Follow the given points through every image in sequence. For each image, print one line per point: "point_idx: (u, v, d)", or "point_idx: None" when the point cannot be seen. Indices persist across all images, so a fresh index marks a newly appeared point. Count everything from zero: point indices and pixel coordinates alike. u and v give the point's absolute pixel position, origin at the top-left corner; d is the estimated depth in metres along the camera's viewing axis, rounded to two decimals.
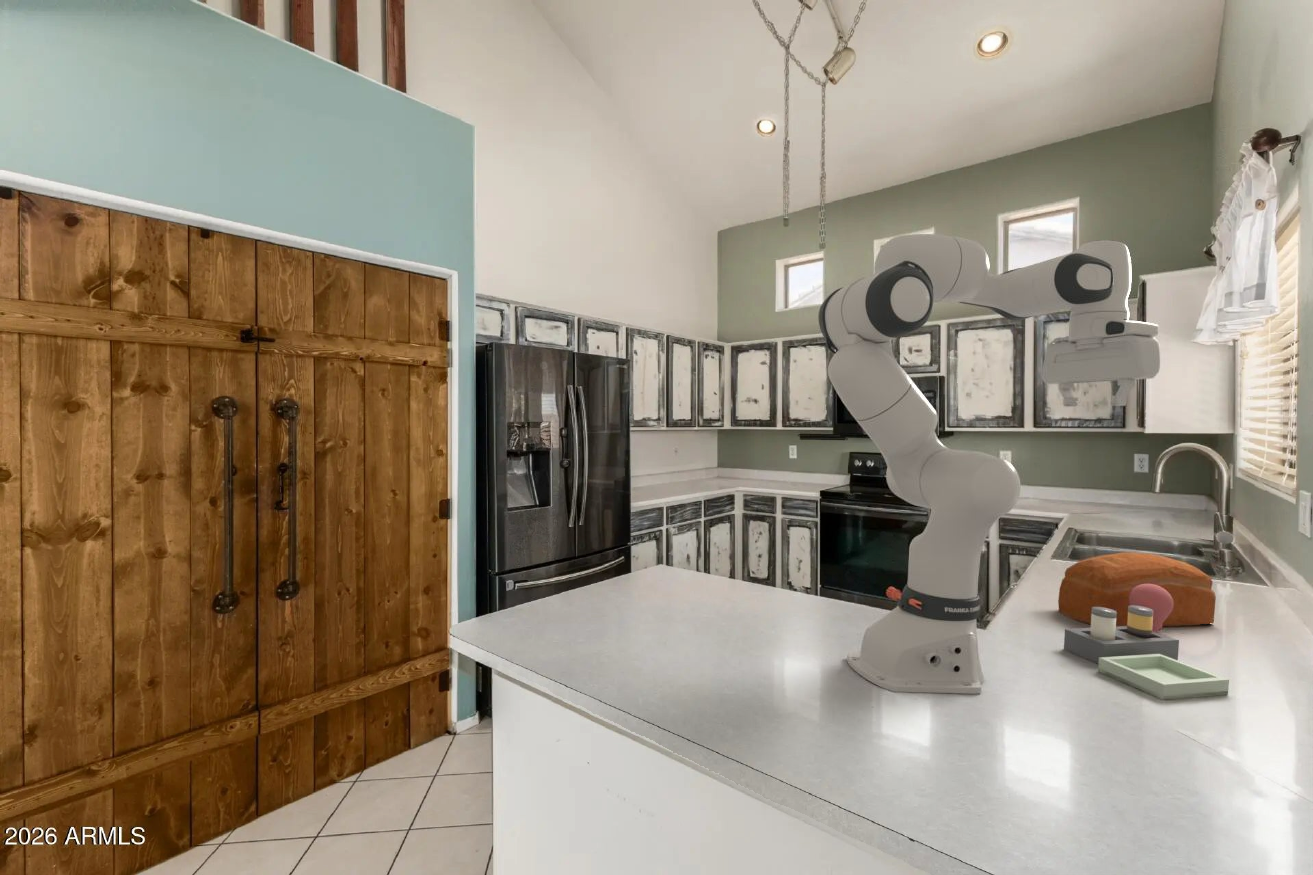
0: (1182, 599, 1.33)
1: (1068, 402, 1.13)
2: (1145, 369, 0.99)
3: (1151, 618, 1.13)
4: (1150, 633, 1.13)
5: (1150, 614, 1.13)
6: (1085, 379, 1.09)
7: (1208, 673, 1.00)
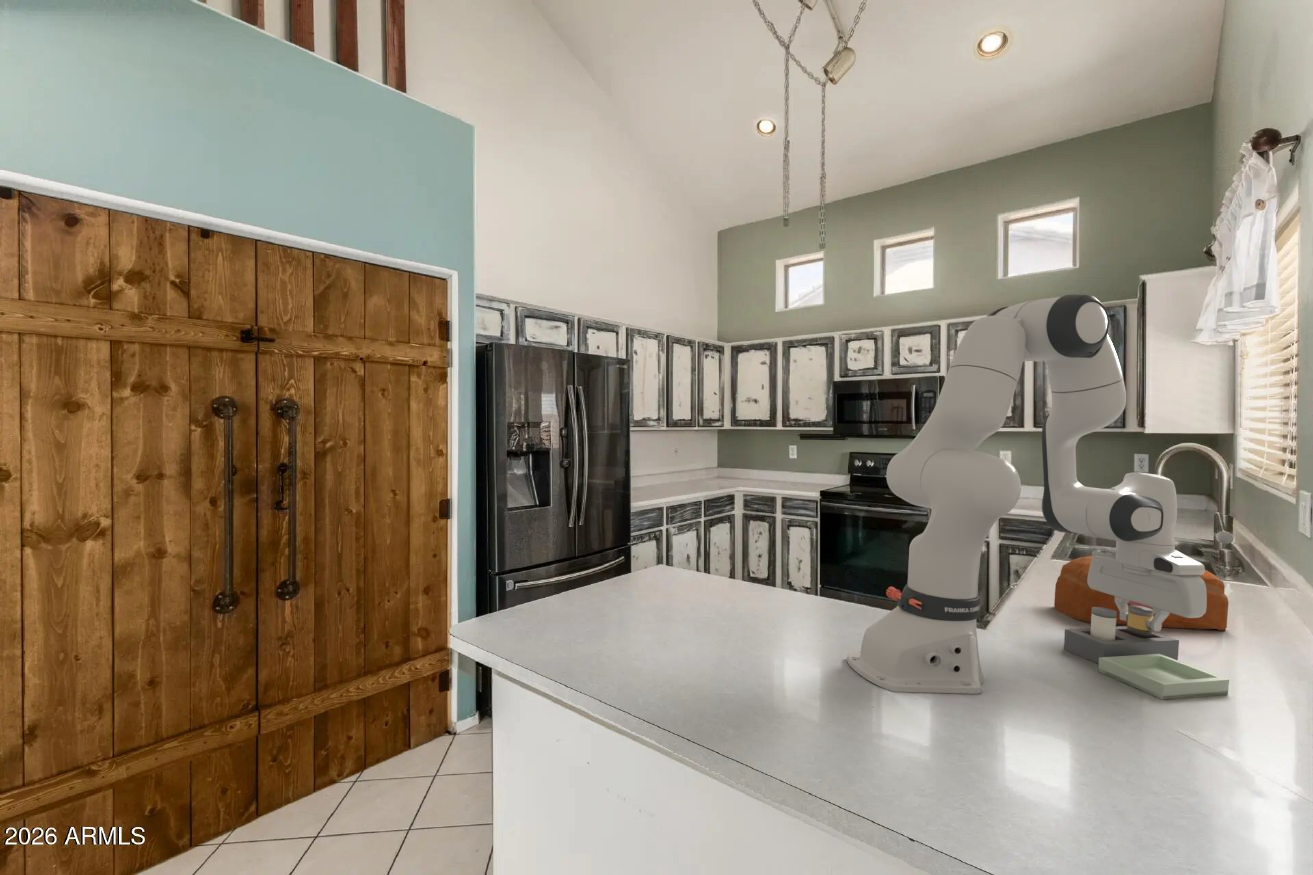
0: None
1: (1125, 617, 1.17)
2: (1193, 611, 1.05)
3: (1151, 618, 1.13)
4: (1150, 633, 1.13)
5: (1150, 614, 1.13)
6: (1132, 600, 1.15)
7: (1208, 673, 1.00)
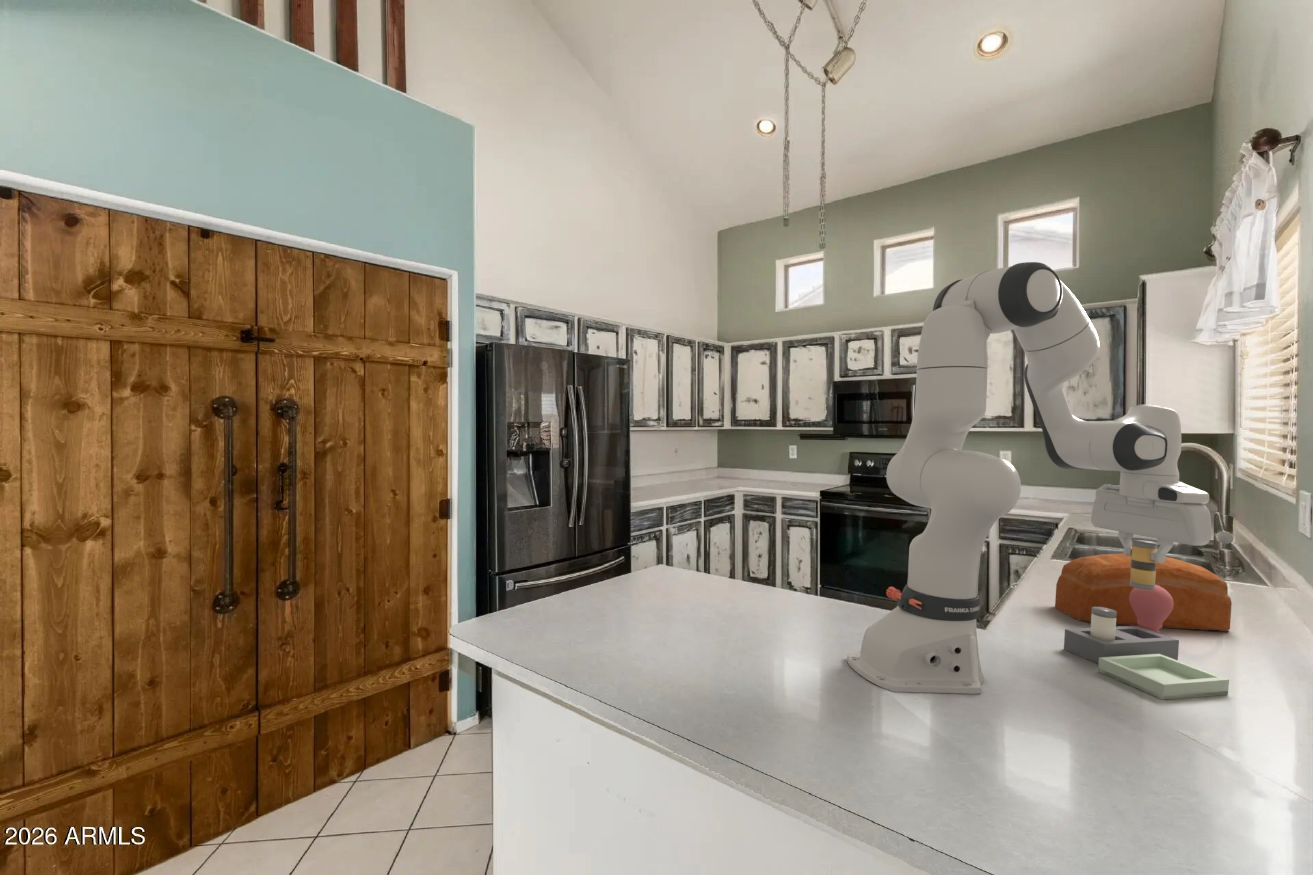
0: (1184, 601, 1.31)
1: (1129, 552, 1.17)
2: (1197, 538, 1.05)
3: (1155, 550, 1.13)
4: (1154, 566, 1.13)
5: (1154, 546, 1.13)
6: (1136, 533, 1.15)
7: (1208, 673, 1.00)
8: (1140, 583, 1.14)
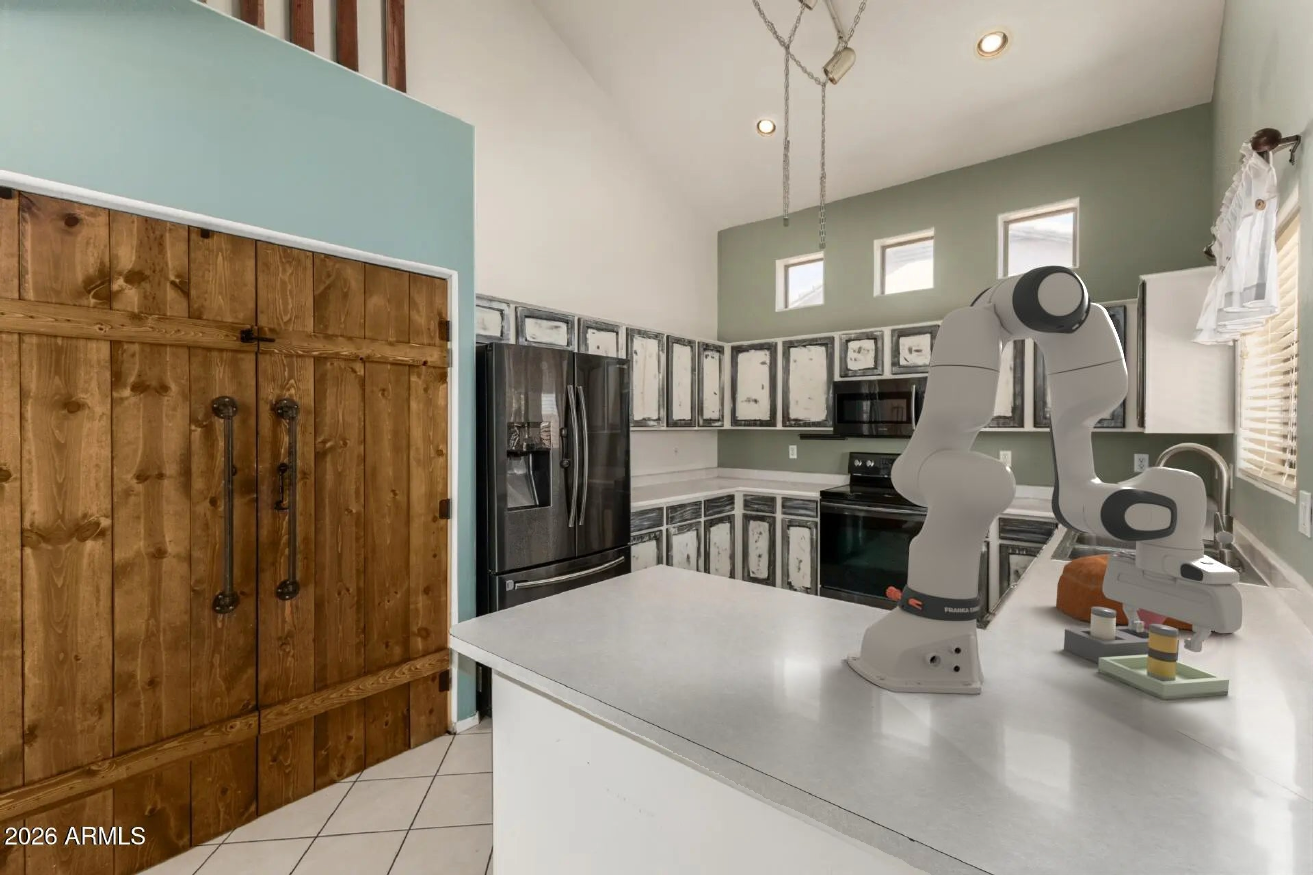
0: None
1: (1134, 627, 1.05)
2: (1227, 626, 0.91)
3: (1175, 638, 1.00)
4: (1175, 656, 1.00)
5: (1175, 634, 1.00)
6: (1154, 611, 1.01)
7: (1208, 673, 1.00)
8: (1159, 675, 1.00)
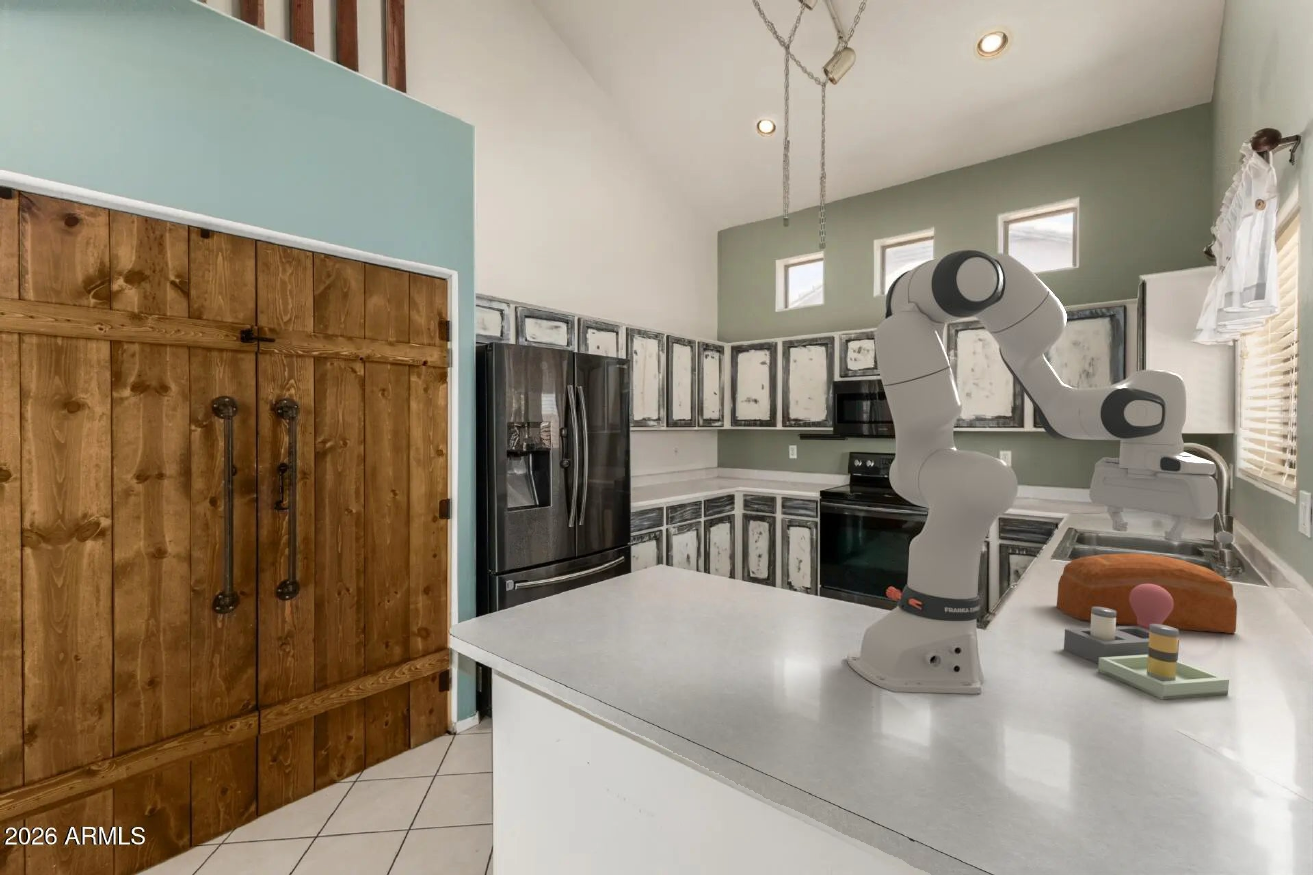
0: (1186, 602, 1.30)
1: (1118, 527, 1.11)
2: (1202, 511, 0.97)
3: (1176, 639, 1.00)
4: (1175, 656, 1.00)
5: (1175, 634, 1.00)
6: (1137, 508, 1.07)
7: (1208, 673, 1.00)
8: (1159, 675, 1.00)
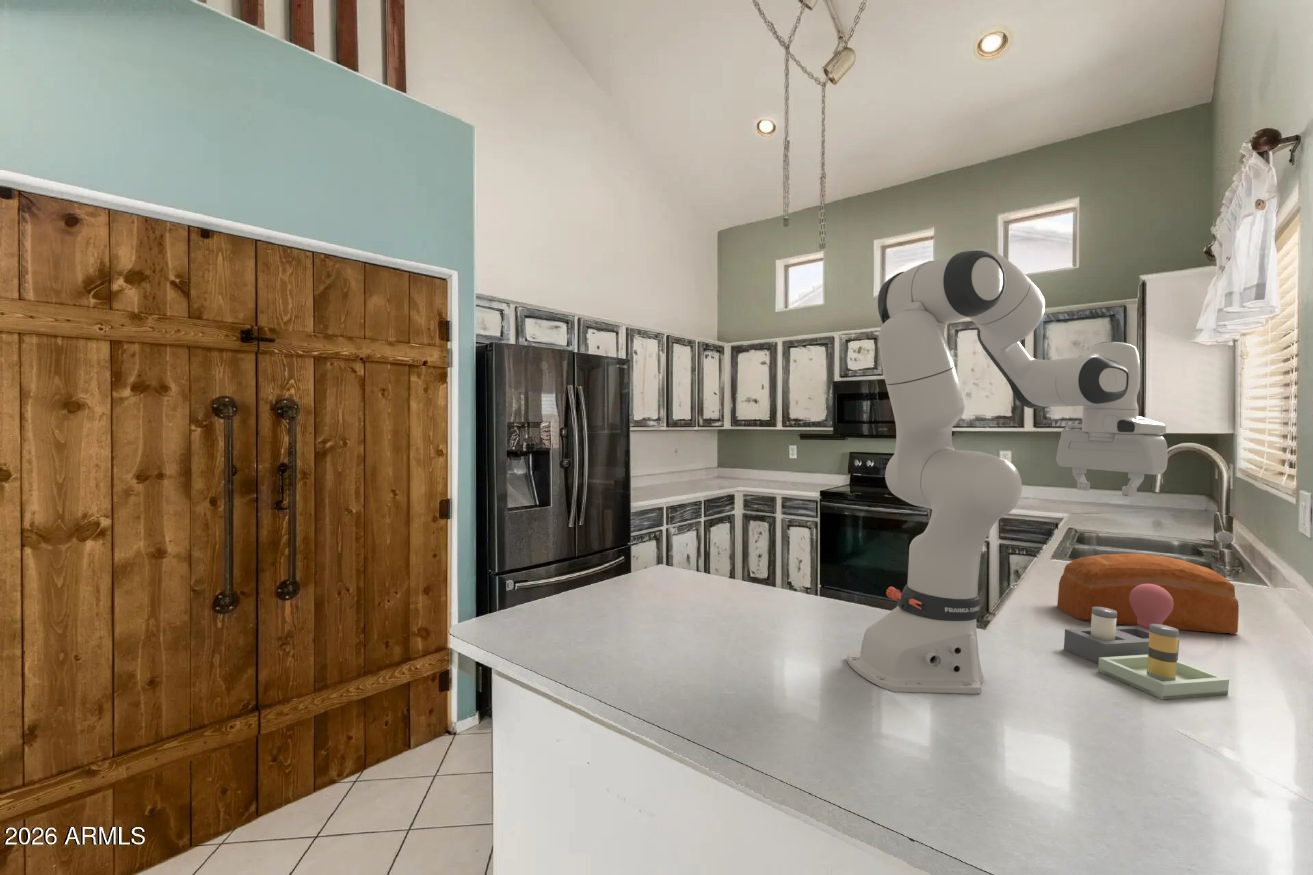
0: (1186, 602, 1.30)
1: (1081, 486, 1.22)
2: (1154, 467, 1.07)
3: (1176, 639, 1.00)
4: (1175, 656, 1.00)
5: (1175, 634, 1.00)
6: (1097, 468, 1.18)
7: (1208, 673, 1.00)
8: (1159, 675, 1.00)
